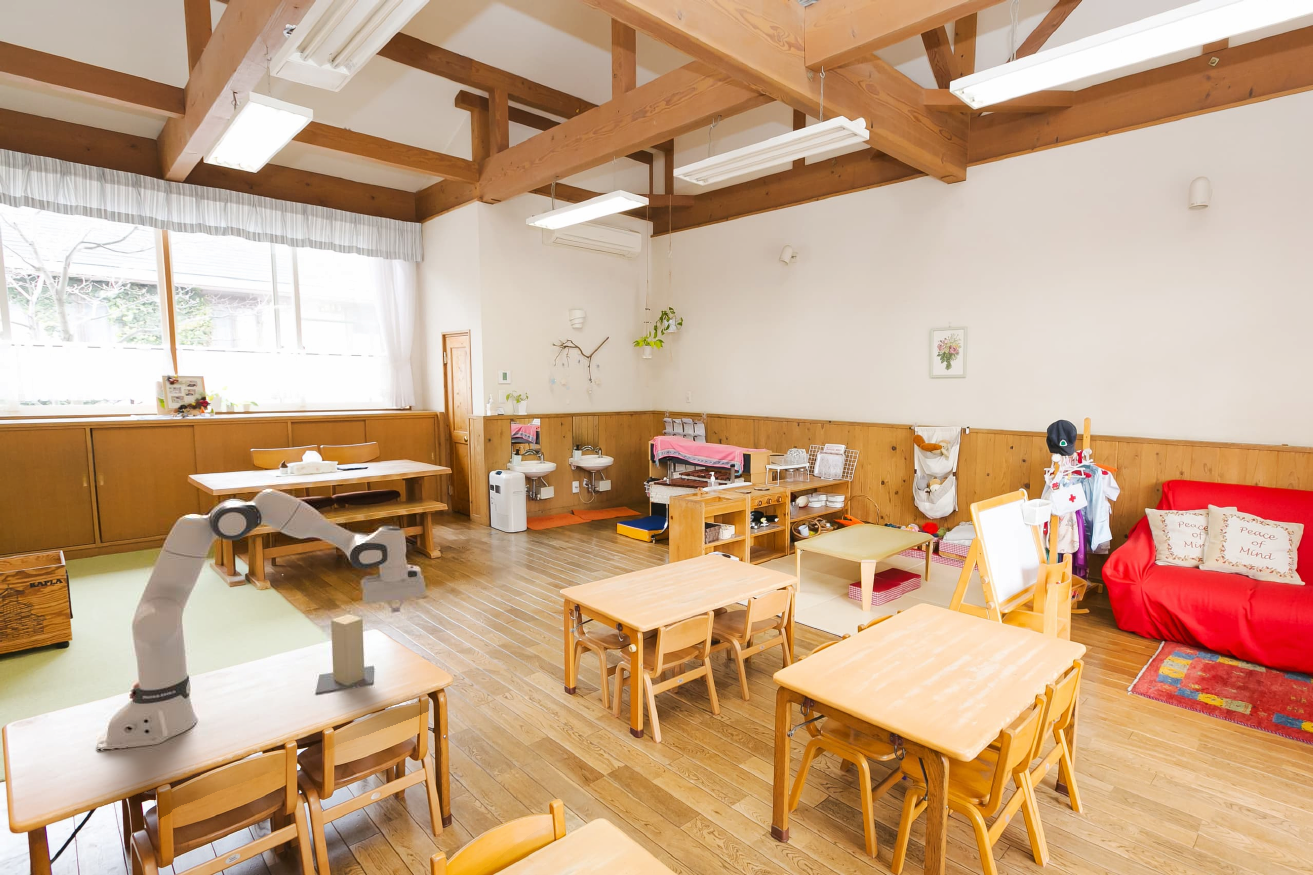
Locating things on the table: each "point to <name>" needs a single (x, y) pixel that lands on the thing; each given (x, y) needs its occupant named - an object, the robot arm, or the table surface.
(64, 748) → the table surface
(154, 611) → the robot arm
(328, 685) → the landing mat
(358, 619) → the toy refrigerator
